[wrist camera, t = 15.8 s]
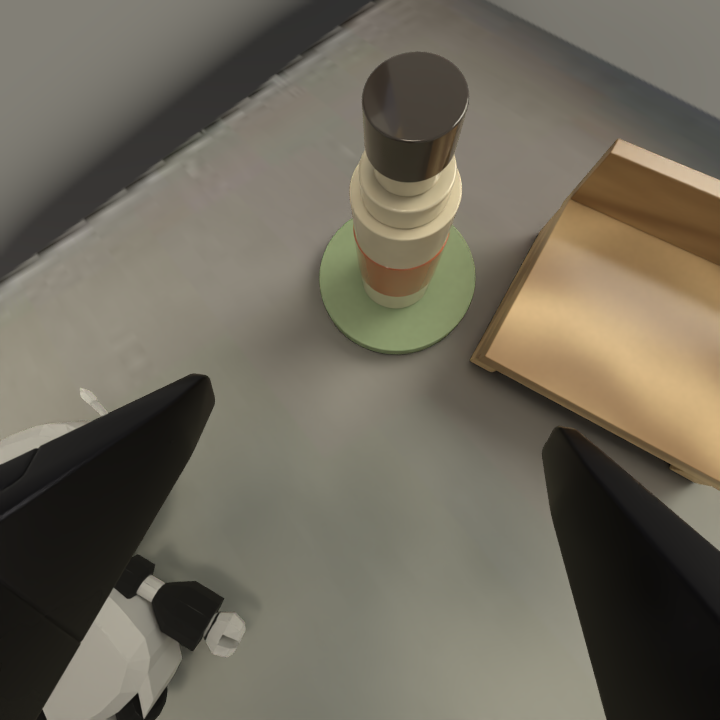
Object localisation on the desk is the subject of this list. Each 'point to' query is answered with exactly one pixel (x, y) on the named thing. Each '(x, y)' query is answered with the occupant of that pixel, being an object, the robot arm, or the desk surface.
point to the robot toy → (131, 627)
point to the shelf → (625, 309)
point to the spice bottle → (407, 174)
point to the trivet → (395, 325)
